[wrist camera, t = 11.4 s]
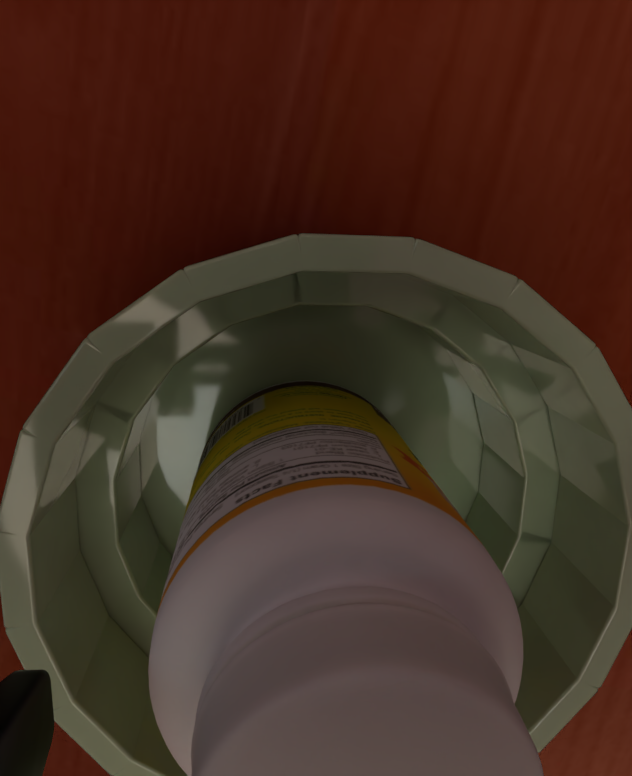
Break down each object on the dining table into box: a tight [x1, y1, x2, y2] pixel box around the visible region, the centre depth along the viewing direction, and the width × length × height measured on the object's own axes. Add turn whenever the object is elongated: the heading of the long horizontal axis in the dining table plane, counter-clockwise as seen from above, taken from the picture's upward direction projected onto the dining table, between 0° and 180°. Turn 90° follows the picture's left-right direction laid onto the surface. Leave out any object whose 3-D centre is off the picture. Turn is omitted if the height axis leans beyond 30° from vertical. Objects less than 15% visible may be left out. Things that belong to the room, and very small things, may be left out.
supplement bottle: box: [148, 380, 544, 776], centre depth 11 cm, size 6×6×10 cm
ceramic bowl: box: [0, 233, 632, 776], centre depth 14 cm, size 12×12×6 cm
